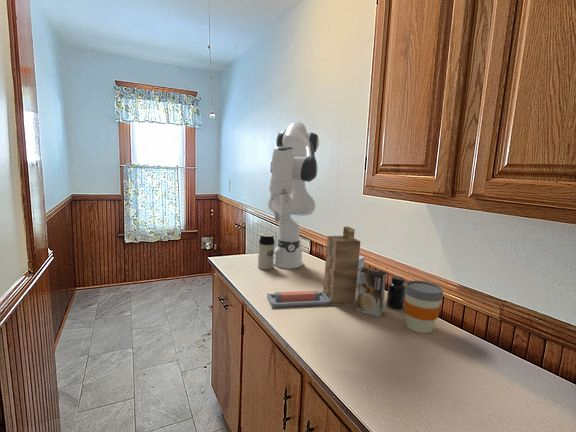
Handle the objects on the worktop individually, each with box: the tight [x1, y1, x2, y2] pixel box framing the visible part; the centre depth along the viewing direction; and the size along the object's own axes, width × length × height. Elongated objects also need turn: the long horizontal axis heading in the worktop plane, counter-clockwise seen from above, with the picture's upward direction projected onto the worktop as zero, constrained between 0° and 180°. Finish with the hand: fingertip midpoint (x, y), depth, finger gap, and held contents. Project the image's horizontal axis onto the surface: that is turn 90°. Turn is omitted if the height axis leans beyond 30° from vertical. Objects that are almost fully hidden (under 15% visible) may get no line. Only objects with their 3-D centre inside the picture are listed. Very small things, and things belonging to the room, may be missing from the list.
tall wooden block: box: [322, 226, 361, 306], centre depth 134 cm, size 10×10×30 cm
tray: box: [266, 291, 332, 309], centre depth 132 cm, size 10×24×2 cm, turn 104°
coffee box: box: [356, 267, 387, 318], centre depth 125 cm, size 9×6×16 cm
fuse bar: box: [274, 290, 320, 303], centre depth 131 cm, size 3×18×3 cm, turn 104°
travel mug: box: [257, 232, 275, 271], centre depth 171 cm, size 8×8×18 cm
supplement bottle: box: [386, 275, 406, 310], centre depth 132 cm, size 7×7×12 cm
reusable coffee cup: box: [403, 280, 444, 334], centre depth 115 cm, size 13×12×15 cm
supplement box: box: [356, 255, 366, 286], centre depth 158 cm, size 7×7×13 cm
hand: (279, 223), depth 129 cm, fingers open, 8 cm apart
